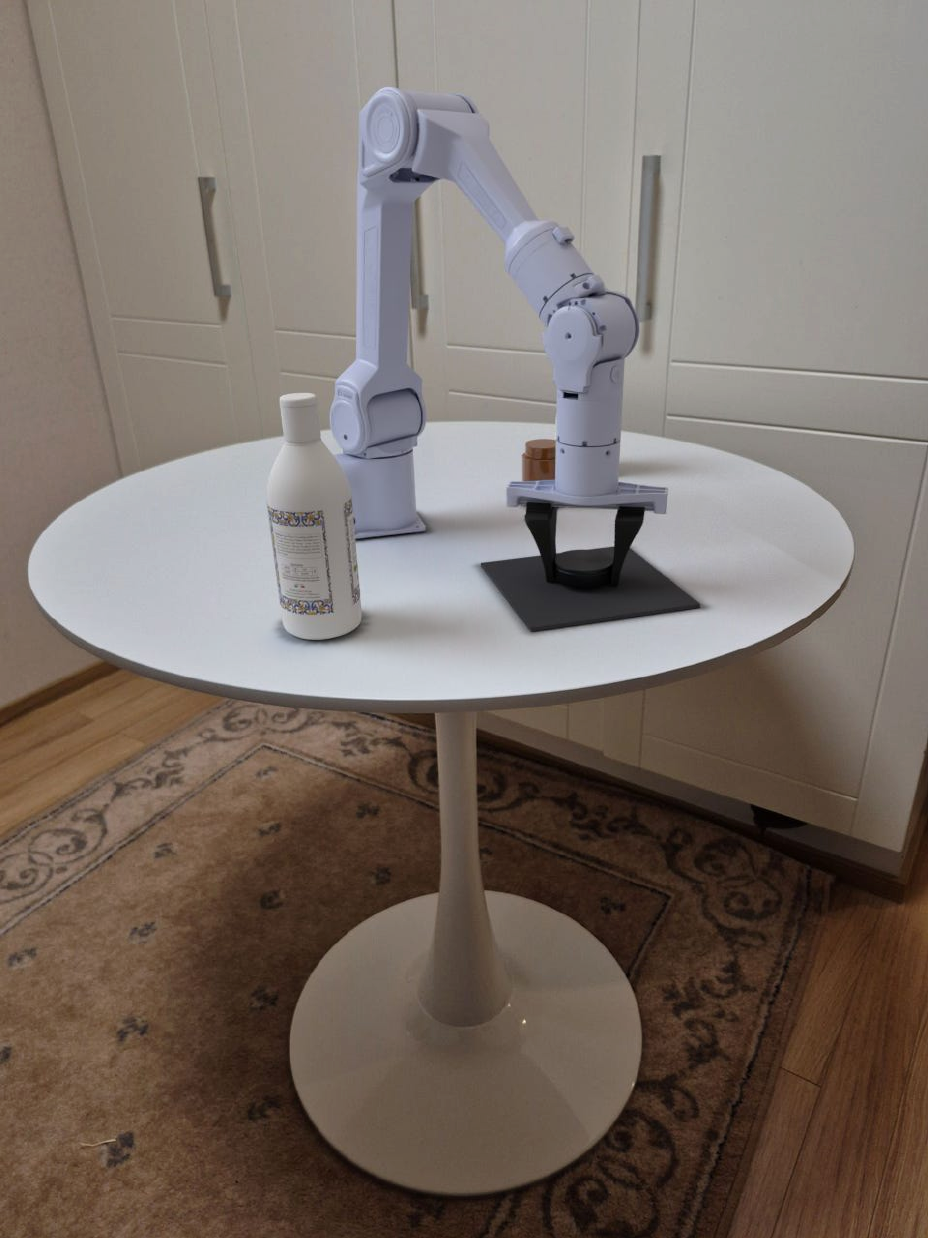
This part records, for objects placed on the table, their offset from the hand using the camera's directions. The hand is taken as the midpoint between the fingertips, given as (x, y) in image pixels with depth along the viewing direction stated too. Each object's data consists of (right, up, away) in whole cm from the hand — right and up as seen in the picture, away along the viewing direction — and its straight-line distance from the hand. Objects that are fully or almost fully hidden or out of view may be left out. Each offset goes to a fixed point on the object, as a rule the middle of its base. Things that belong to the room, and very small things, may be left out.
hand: (583, 580), depth 82 cm
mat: (0, 0, 0) cm, 0 cm away
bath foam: (-24, -4, -6) cm, 25 cm away
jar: (-2, +11, +24) cm, 26 cm away
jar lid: (0, +2, -1) cm, 2 cm away
